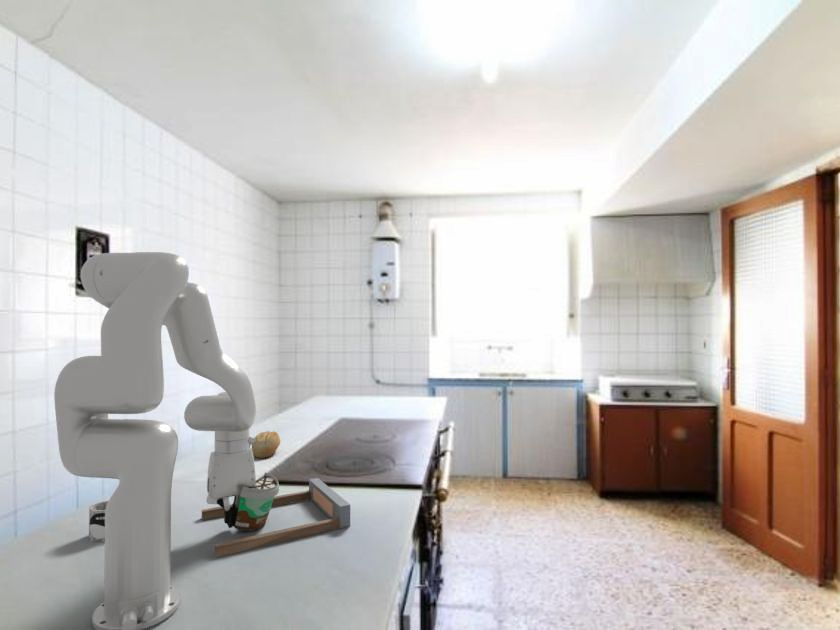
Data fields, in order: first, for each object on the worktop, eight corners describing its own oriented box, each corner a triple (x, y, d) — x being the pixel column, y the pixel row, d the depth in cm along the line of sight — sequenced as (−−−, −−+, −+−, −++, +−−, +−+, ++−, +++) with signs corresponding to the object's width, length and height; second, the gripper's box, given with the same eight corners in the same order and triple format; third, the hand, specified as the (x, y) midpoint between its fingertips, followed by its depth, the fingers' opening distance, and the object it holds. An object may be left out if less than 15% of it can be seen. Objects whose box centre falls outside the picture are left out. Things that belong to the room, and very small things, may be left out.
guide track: (340, 528, 113) (340, 519, 113) (216, 556, 99) (216, 547, 99) (308, 497, 133) (308, 490, 133) (201, 518, 119) (201, 509, 119)
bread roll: (282, 448, 186) (283, 427, 186) (276, 459, 171) (276, 436, 171) (256, 449, 184) (257, 428, 184) (248, 460, 169) (248, 437, 170)
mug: (83, 543, 106) (84, 512, 106) (95, 530, 112) (95, 501, 112) (135, 537, 108) (135, 507, 108) (143, 525, 115) (144, 497, 115)
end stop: (350, 525, 114) (350, 504, 114) (339, 528, 113) (339, 506, 113) (317, 495, 134) (317, 477, 134) (307, 497, 133) (307, 479, 133)
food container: (256, 539, 108) (267, 495, 108) (231, 530, 109) (241, 487, 109) (279, 518, 120) (288, 478, 120) (256, 510, 121) (265, 471, 121)
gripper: (261, 438, 119) (260, 513, 119) (194, 446, 111) (194, 526, 111) (269, 444, 113) (268, 523, 113) (199, 453, 105) (198, 539, 105)
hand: (231, 525), depth 112 cm, fingers closed
